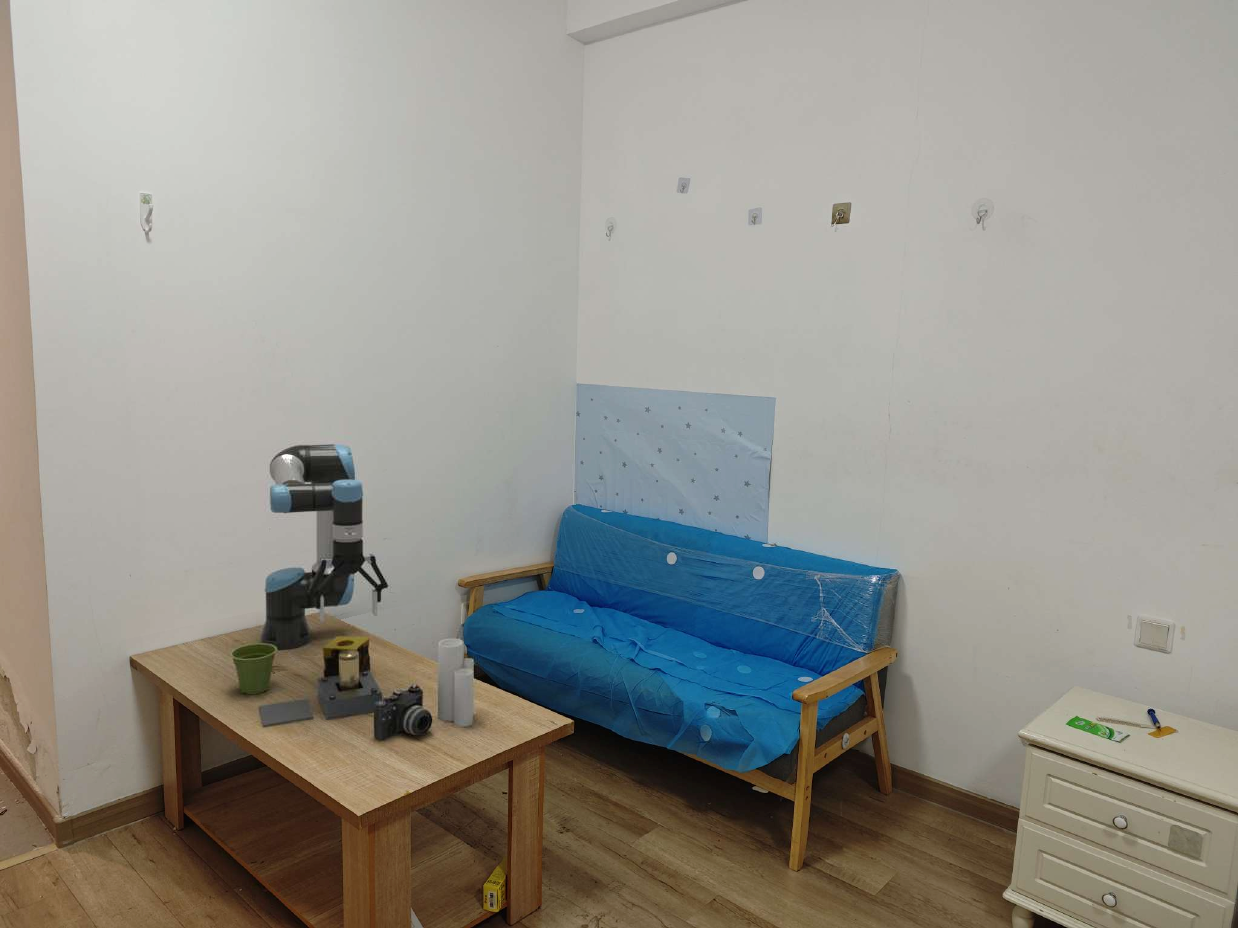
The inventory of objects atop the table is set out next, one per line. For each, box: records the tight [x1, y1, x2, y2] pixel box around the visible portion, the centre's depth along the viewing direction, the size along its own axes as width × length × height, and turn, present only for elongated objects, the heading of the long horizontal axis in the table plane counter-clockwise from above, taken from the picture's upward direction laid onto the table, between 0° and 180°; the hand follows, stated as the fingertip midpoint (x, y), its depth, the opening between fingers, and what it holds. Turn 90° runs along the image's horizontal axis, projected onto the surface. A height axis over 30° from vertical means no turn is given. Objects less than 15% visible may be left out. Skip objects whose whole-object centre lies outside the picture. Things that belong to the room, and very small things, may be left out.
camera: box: [373, 684, 433, 741], centre depth 206 cm, size 14×11×10 cm
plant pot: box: [229, 642, 278, 695], centre depth 228 cm, size 12×12×11 cm
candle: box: [322, 635, 371, 677], centre depth 240 cm, size 10×10×10 cm
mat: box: [258, 698, 314, 728], centre depth 215 cm, size 12×12×1 cm
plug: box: [339, 650, 359, 692], centre depth 221 cm, size 5×5×14 cm
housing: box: [316, 670, 383, 720], centre depth 222 cm, size 16×14×6 cm
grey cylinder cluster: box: [437, 638, 475, 728], centre depth 215 cm, size 11×7×20 cm, turn 59°
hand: (348, 617), depth 219 cm, fingers open, 13 cm apart
